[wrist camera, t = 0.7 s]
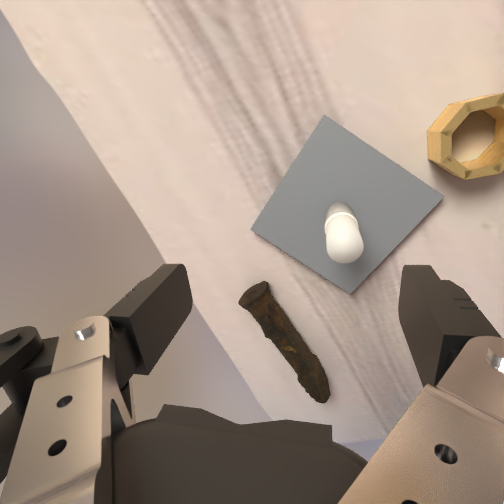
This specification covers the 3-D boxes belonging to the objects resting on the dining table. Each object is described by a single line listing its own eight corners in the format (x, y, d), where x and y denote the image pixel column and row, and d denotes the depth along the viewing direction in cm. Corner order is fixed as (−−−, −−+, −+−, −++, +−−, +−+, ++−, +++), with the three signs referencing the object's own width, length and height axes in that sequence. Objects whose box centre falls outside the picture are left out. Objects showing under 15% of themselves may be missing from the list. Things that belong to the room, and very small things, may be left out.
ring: (465, 84, 26) (485, 79, 23) (522, 124, 26) (550, 124, 23) (412, 148, 29) (423, 151, 26) (464, 183, 29) (481, 191, 26)
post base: (324, 114, 29) (325, 113, 20) (440, 193, 30) (492, 226, 21) (252, 226, 35) (228, 263, 26) (349, 289, 36) (359, 346, 27)
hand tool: (241, 287, 40) (232, 307, 35) (267, 276, 38) (260, 295, 34) (310, 387, 44) (309, 415, 40) (335, 380, 43) (337, 409, 39)
